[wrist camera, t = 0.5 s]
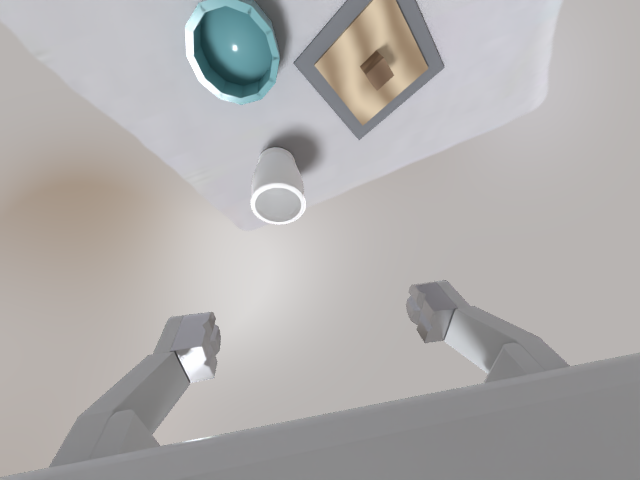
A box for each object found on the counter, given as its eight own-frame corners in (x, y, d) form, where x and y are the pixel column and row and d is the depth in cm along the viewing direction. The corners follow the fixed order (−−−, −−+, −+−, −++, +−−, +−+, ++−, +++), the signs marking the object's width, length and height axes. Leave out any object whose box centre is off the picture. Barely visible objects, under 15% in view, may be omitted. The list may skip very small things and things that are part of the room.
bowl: (225, -35, 36) (219, -33, 32) (293, 48, 44) (296, 58, 40) (178, 44, 42) (168, 55, 37) (246, 105, 50) (244, 119, 45)
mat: (391, -52, 37) (392, -52, 36) (443, 66, 49) (444, 67, 49) (293, 62, 46) (293, 63, 45) (358, 139, 58) (359, 140, 57)
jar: (305, 149, 58) (313, 190, 48) (292, 186, 65) (297, 228, 55) (258, 136, 54) (255, 177, 44) (249, 176, 61) (245, 220, 51)
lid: (386, -17, 39) (397, -13, 36) (426, 67, 48) (439, 76, 45) (313, 64, 46) (317, 73, 42) (361, 124, 55) (368, 136, 51)
